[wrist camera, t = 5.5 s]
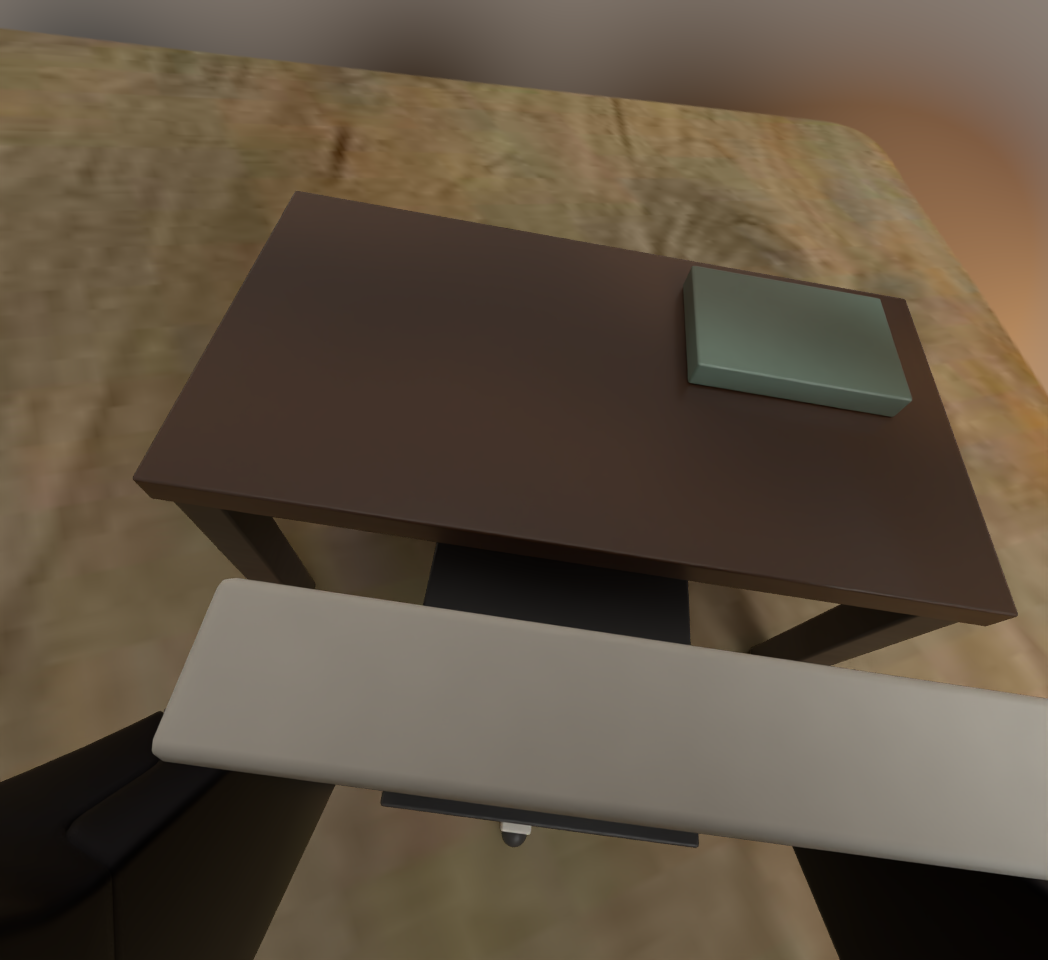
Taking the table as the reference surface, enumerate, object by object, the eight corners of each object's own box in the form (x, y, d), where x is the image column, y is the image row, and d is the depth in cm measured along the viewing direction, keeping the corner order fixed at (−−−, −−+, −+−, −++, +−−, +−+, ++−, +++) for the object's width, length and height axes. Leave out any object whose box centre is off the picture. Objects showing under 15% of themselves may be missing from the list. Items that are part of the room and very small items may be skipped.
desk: (787, 689, 16) (1054, 606, 9) (267, 613, 15) (109, 458, 8) (758, 459, 20) (924, 278, 13) (347, 392, 19) (288, 163, 12)
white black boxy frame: (657, 865, 13) (1523, 1171, 3) (362, 826, 13) (-64, 985, 2) (654, 584, 17) (1005, 224, 6) (424, 548, 17) (375, 107, 6)
